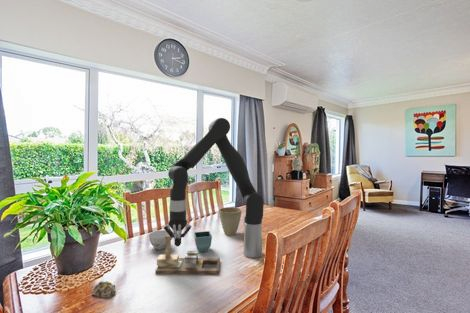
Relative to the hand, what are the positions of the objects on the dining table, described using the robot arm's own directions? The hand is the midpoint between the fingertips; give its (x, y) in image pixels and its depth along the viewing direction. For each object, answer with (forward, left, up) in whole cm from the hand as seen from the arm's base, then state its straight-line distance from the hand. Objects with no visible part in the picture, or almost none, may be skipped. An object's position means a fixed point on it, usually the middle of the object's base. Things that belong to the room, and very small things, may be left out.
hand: (177, 245), depth 119 cm
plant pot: (-24, -47, -11) cm, 54 cm away
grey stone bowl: (+14, -24, -11) cm, 29 cm away
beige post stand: (+5, 0, -8) cm, 10 cm away
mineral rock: (+24, +21, -11) cm, 33 cm away
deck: (-5, 0, -10) cm, 12 cm away
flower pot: (-9, -20, -11) cm, 25 cm away
